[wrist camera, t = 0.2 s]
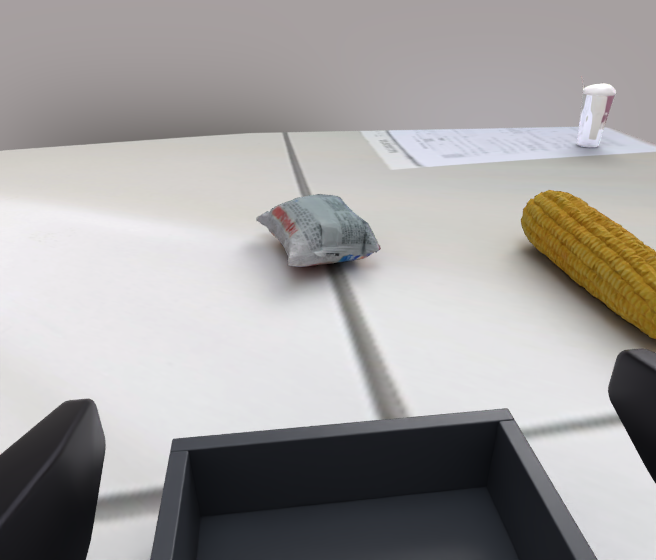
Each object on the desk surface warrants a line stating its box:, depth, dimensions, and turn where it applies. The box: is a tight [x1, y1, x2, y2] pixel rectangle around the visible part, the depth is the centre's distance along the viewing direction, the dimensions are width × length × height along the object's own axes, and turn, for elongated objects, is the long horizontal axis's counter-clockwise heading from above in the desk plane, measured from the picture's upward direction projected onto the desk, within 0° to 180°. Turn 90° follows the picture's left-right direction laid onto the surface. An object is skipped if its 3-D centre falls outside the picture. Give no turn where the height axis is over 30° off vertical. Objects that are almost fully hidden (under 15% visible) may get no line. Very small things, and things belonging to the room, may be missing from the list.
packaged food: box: [256, 194, 381, 267], centre depth 51 cm, size 9×12×5 cm
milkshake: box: [577, 76, 616, 148], centre depth 83 cm, size 5×5×10 cm
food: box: [521, 190, 656, 339], centre depth 44 cm, size 21×6×6 cm, turn 11°
